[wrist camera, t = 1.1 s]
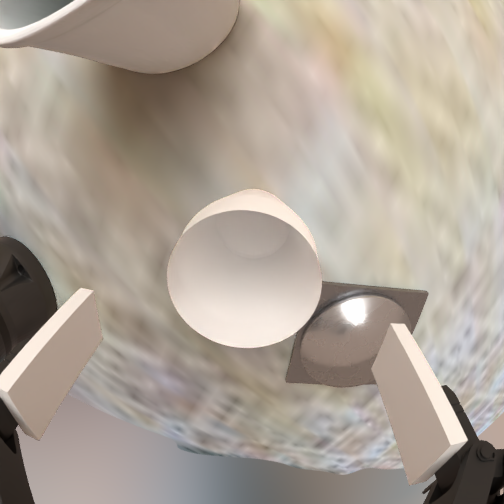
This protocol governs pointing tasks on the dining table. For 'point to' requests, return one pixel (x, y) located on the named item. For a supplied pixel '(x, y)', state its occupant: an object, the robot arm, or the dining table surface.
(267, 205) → the cup
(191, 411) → the dining table surface
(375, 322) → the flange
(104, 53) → the utensil holder
